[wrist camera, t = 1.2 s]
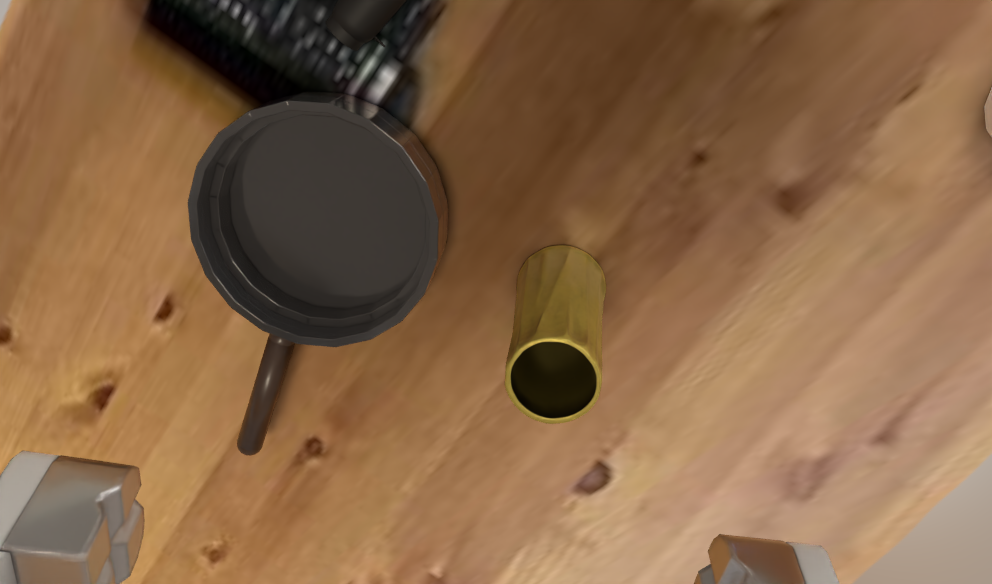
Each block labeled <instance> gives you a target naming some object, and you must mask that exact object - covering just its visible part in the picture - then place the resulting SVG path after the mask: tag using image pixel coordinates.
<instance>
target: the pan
mask: <svg viewBox="0 0 992 584" xmlns="http://www.w3.org/2000/svg"><path fill="white" fill-rule="evenodd" d="M188 210H189V221H190V232H191V240H192V243H193V246H194V248H195V251H196V253H197V255H198V258H199V260H200V263H201V265H202V268H203V270H204V273H205V275H206V277H207V278H208V279H209V280H210V282H211V283H212V284H213V286H214V287H215V288H216V289H217V291H218V292H219V293H220V294H221V296H222V297H223V298H224V300H225V301H226V302H227V303H228V305H229V306H231V308H232V309H234V310H235V311H236V312H238V313H239V314H240V315H242V316H243V317H245V318H246V319H247V320H249V321H250V322H251V323H253V324H254V325H255V326H257V327H258V328H259V329H261V330H262V331H265V332H268V333H270V334H273V335H275V336H278V337H281V338H283V339H286V340H288V341H291V342H294V343H296V344H305V345H316V346H327V347H339V346H343V345H348V344H353V343H357V342H362V341H367V340H370V339H373V338H374V337H376V336H378V335H380V334H381V333H383V332H385V331H386V330H388V329H390V328H391V327H393V326H395V325H397V324H398V323H400V322H401V321H403V319H404V318H405V317H406V316H407V315H408V313H409V312H410V311H411V310H412V309H413V308H414V306H415V305H416V304H417V303H418V302H419V300H420V299H421V298H422V297H423V296H424V294H425V293H426V291H427V289H428V287H429V285H430V282H431V280H432V278H433V276H434V274H435V272H436V269H437V267H438V264H439V261H440V259H441V256H442V253H443V251H444V248H445V245H446V243H447V227H448V202H447V199H446V195H445V192H444V189H443V185H442V182H441V178H440V175H439V172H438V168H437V166H436V165H435V163H434V162H433V160H432V159H431V157H430V156H429V154H428V153H427V151H426V150H425V148H424V147H423V145H422V144H421V143H420V141H419V140H418V138H417V137H416V135H415V134H414V133H413V132H411V131H410V130H409V129H408V128H406V127H405V126H404V125H403V124H402V123H400V122H399V121H398V120H397V119H395V118H394V117H393V116H392V115H390V114H389V113H388V112H387V111H385V110H384V109H383V108H380V107H378V106H375V105H373V104H370V103H368V102H365V101H363V100H360V99H358V98H355V97H353V96H350V95H348V94H342V93H326V92H311V91H307V92H306V91H305V92H302V93H298V94H294V95H291V96H287V97H284V98H280V99H276V100H273V101H270V102H268V103H266V104H263V105H261V106H259V107H257V108H255V109H252V110H250V111H248V112H247V113H245V114H244V115H243V116H241V117H240V118H238V119H237V120H236V121H234V122H233V123H231V124H230V125H229V126H227V127H226V128H224V129H223V130H222V131H220V132H219V133H218V134H217V135H216V137H215V138H214V140H213V141H212V143H211V144H210V146H209V147H208V149H207V150H206V152H205V153H204V155H203V156H202V158H201V159H200V161H199V162H198V164H197V166H196V170H195V174H194V178H193V182H192V187H191V191H190V195H189V199H188Z"/></svg>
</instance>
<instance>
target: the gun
mask: <svg viewBox="0 0 992 584" xmlns="http://www.w3.org/2000/svg"><path fill="white" fill-rule="evenodd" d="M405 1H406V0H338V2H337V3H336V5H335V7H334V9H333V13H332V15H331V16H330V17H329V18H328V19H327V21H326V25H327V27H328V29H329V30H330V31H331V32H332V33H333V35H334V36H335V37H336V38H337V39H339V40H340V41H341V42H342V43H343V44H345V45H346V46H347V47H349V48H351V49H352V50H355V51H358V50H359V48H360V47H361V46H362V45H363V44H364V43H367V42H369V41H371V40H372V39H374V40H376V41H377V42H378V43H380V44H381V45H382V46H383V47H386V46H385V45H384V44H383V43H382V42H381V41H380V40H379V39H378V38H377V37H376V35H377V34H378V33H379V32H380V31H381V29H382V28H383V27H384V26H385V25H386V24H387V22H388V21H389V20H390V19H391V18H392V17H393V15H394V14H395V13H396V12H397V11H398V10H399V8H400V7H401V6H402V5H403V4H404V3H405Z"/></svg>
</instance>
